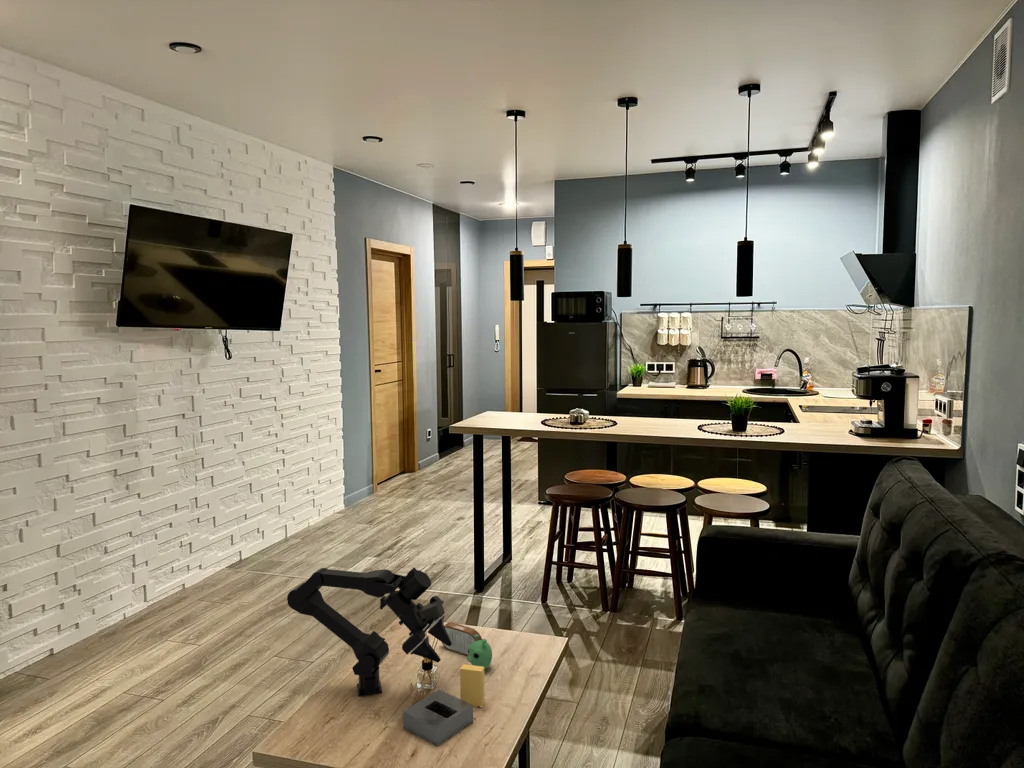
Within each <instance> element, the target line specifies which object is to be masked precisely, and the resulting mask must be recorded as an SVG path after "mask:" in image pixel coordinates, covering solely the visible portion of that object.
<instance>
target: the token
mask: <svg viewBox="0 0 1024 768" xmlns="http://www.w3.org/2000/svg"><path fill="white" fill-rule="evenodd" d="M459 675H460V676H459V678H460V679H459V680H460V681H459V682H460V683H459V685H460V697H459V698H460V699H461V700H463V701H465V702H468V703H470V704H472V705H473V707H476V706H484V705H483V704H485V703H484V702H486V700H485V699H486V695H485V686H486V685H485V669H484V667H482V666H474V665H472V664H465V663H464V664H462V665H461V667H460V668H459Z"/></svg>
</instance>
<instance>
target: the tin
mask: <svg viewBox="0 0 1024 768" xmlns="http://www.w3.org/2000/svg"><path fill="white" fill-rule="evenodd" d="M444 627H445V629H446V632H447V634H448V636H449V638H450V640H451V642H452V645H451V646H447V645H446V644H444V643H443V642H441V644H442V645H443V646H444V648H446V649H447V650H448V651H452V652H455V653H458V654H460V655H463V656H466V655H468V654H469V653H468V649H469V645H472V644H473V643H474V642H475V641H476V638H474V635H476V634H477V635H479V637H478V640H482V639H483V638H482V635H481V634H480V632H478V630H476V629H475V628H473V627H470V626H467V625H462V624H460V623H456V622H452V621H450V622H447V623H446V624H444Z"/></svg>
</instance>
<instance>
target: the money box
mask: <svg viewBox="0 0 1024 768" xmlns="http://www.w3.org/2000/svg"><path fill="white" fill-rule="evenodd" d="M438 709H441V710H443V711H446V712H447V713H449V714H451V716H449V717H447V718H446V717H444V716H443V715H441V714H438V713H437V712H435V711H437V710H438ZM402 717H403V718H402V727H403V729H404V730H406V731H408V732H410V733H412V734H414V735H416V736H417V737H419V738H421V739H424V740H425V741H427V742H429V743H431V744H432V745H434V746H435V747H438V746H439V745H441V744H442V743H444V742H445V741H447V740H449V738H451V737H453V736H454V735H455V734H457V733H458V732H461V731H462V730H463V729H464V728H466V727H467V726H469V725H470V724H472V723H473V722H474V706H473V705H472V704H470V703H468V702H465V701H463V700H461V698H460V697H459V698H458V697H457V696H454V695H452V694H450V693H448V692H446V691H444V690H442V689H438V690H435V691H434V692H432V693H431V694H429V695H428V696H426V697H424V698H422V699H420V700H419V701H417V702H416V703H414V704H413V705H412V704H411V706H409V707H408V708H406V709H403V711H402Z"/></svg>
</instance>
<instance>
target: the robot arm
mask: <svg viewBox="0 0 1024 768" xmlns="http://www.w3.org/2000/svg"><path fill="white" fill-rule="evenodd" d="M322 587H330V588H336V589H337V588H339V589H349V590H356V591H357V590H358V591H361V592H363V593H364V594H365V595H367V596H370V597H375V598H379V601H380V602H379V603H380V604H379V609H380V610H383V609H384V608H385V607H386V606H387V607H388V609H389V610H390V611H391V612H392V613H394V615H395V616H396V617H397V618H398V619H399V621H398V624H399V626H402V625H404V626H405V627H406V628H407V629H408V630H409V631H410V632H409V633H408V635H409V637H407V638H406V639H405V641H404V642H403V643H402V644H401V650H402V651H403V652H404V653H405V654H406V655H410V656H411V655H416V656H417V657H418V656H419V657H422V658H424V659H428V660H429V661H432V662H434V663H438V664H439V663H440V662H441V657H440V656H439V655H438V653H437V652H436V650H435V649H434V648H433V646H432V645H431V644H430V640H429V639H430V637H429V635H431V636H432V637H434V638H435V639H436V640H438V641H440V642H441V643H442V642H443V643H444V644H446V645H447V646H451V645H452V642H451V640H450V638H449V636H448V634H447V632H446V629H445V627H444V626H445V624H444V623H445V617H446V616H445V615H444V614H445V613H446V611H445V609H444V606H443V605H444V603H445V602H444V600H442V598H440V597H439V596H438V595H434V596H431V598H430V599H429V602H427V603H426V604H425V605H423V604H422V603H421V602H418V603H417V604H416V603H415V602H414V601H416V600H418V599H419V598H420V597H421V596H422V595H423V594H424V593H425V592H426V591H428V589H429V588H431V587H432V581H431V578H430V577H429V575H428V574H427V573H426V572H424V571H423V570H422V571H421V570H419V569H417V568H416V567H412V568H411V569H410V570H409V571H408V573H407V574H406V575H402V574H396V573H393V572H392V570H390V569H386V568H385V569H374V570H371V571H367V572H366V571H365V572H361V571H350V570H338V569H329V568H326V567H321V568H318V569H317V570H316V571H315V572H313V573H312V574H311V575H310V577H309V578H308V579H307V580H305V582H302V583H300V584H298V586H296V587H294V588H293V589H292V590H290V591H289V592H288V594H287V596H286V600H287V605H288V607H289V608H291V609H292V610H294V611H295V612H297V613H298V614H300V615H305V616H309V617H313V618H314V619H315V620H317V622H318V623H320V624H321V625H323V626H324V627H325V628H327V629H328V630H329V631H330V632H331V633H332V634H334V635H335V636H336V637H338V638H339V639H340V640H341V641H343V642H344V643H345V644H347V646H349V647H350V648H351V649H352V651H353V653H354V656H355V658H356V660H357V662H356V663H355V664H354V665H353V666H352V667H351V669H352V670H353V675H354V676H355V675H356V676H358V683H357V684H356V690H357V695H358V697H367V696H373V695H379V694H383V689H382V682H381V680H380V679H381V678H380V676H381V675H380V665H381V664H382V663H383V662H384V660H385V659H386V658H387V657H388V655H389V654H390V647H389V644H388V643H387V641H386V638H385V637H382V636H380V634H379V633H378V632H376V631H375V630H373V631H372V632H371V633H365V632H363V631H362V630H361V629H359V628H358V627H357V626H356V625H354V624H353V623H352V622H350V620H349V619H347V618H346V617H344V616H343V615H342V614H340V613H339V612H338V611H336V610H335V608H333V607H332V606H330V604H328V603H327V602H326V601H325V599H324V597H323V595H322V592H321V591H320V589H321V588H322ZM397 589H398V590H397ZM385 595H387V596H385ZM426 632H427V633H428V634H429V635H426Z"/></svg>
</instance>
